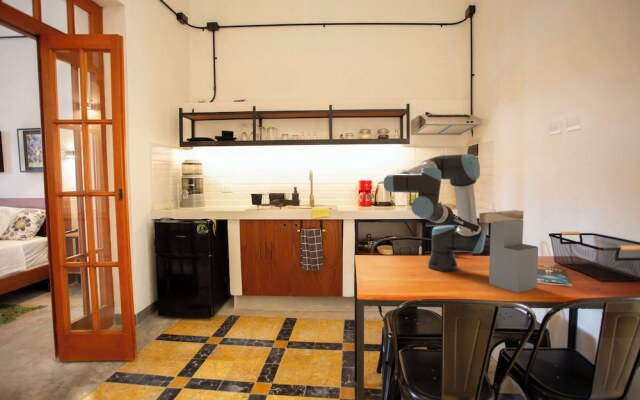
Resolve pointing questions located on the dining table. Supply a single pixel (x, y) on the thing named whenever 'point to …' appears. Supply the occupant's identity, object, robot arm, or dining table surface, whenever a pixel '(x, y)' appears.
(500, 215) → the ash rod
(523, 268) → the stand
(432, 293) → the dining table surface
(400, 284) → the dining table surface
